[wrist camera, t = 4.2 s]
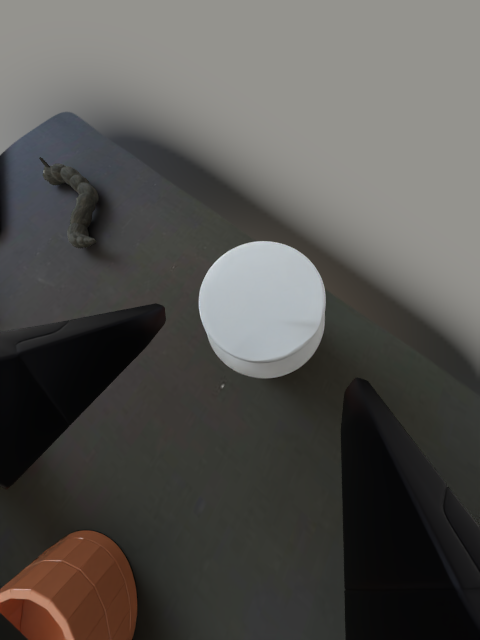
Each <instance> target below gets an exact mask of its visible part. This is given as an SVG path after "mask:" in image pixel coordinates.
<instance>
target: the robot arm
mask: <svg viewBox="0 0 480 640" xmlns="http://www.w3.org/2000/svg"><path fill="white" fill-rule="evenodd" d="M165 321H166V317H165V308H164V306H162V305H159V304H151V305H146V306H140V307H135V308H130V309H125V310H120V311H115V312H109V313H104V314H99V315H94V316H89V317H84V318H78V319H73V320H70V321H69V320H68V321H63V322H58V323H52V324H47V325H41V326H35V327H28V328H22V329H15V330H8V331H2V332H0V486H1V487H3V488H5V489H8V488H9V487H10V486H11V485H12V484H14V483H15V482H16V481H17V480H18V478H19V477H20V476H21V475H22V474H23V473H24V472H25V471H26V470H27V469H28V468H29V467H30V466H31V465H32V464H33V463H34V462H35V461H36V460H37V459H38V458H39V457H40V456H41V455H42V454H43V453H44V452H45V451H46V450H47V449H48V448H49V447H50V446H51V445H52V443H53V442H54V441H55V440H56V439H57V438H58V437H59V436H60V435H61V434H62V433H63V432H64V431H65V430H66V429H67V428H68V427H69V425H71V424H72V423H73V422H74V421H75V420H76V419H77V418H78V417H79V416H80V415H81V413H82V412H83V411H84V410H85V409H86V408H87V407H88V406H89V405H90V404H91V403H92V402H93V401H94V400H95V399H96V398H97V397H98V396H99V395H100V394H101V393H102V392H103V391H104V390H105V389H106V388H107V387H108V386H109V385H110V384H111V383H112V382H113V381H114V380H115V379H116V378H117V376H118V375H119V374H120V373H121V372H122V371H123V370H124V369H125V368H126V367H127V366H128V365H129V364H130V363H131V362H132V361H133V360H134V359H135V358H136V357H137V356H138V355H139V354H140V353H141V352H142V351H143V350H144V349H145V348H146V346H147V345H148V344H149V343H150V342H151V340H152V339H153V338H154V337H155V335H156V334H157V333H158V331H159V330H160V329H161V328H162V326H163V325H164V324H165ZM341 460H342V500H343V541H344V581H345V629H346V640H480V527H479V525H478V524H477V523H476V522H475V520H474V519H473V518H472V516H471V515H470V514H469V513H468V511H467V510H466V509H465V507H464V506H463V505H462V504H461V502H460V501H459V500H458V498H457V497H456V496H455V494H454V493H453V492H452V491H451V489H450V488H449V487H447V484H446V483H445V482H444V480H443V479H442V478H441V476H440V475H439V474H438V472H437V471H436V470H435V468H434V467H433V466H432V465H431V463H430V462H429V461H428V459H427V458H426V457H425V455H424V454H423V453H422V451H421V450H420V449H419V447H418V446H417V445H416V444H415V442H414V441H413V440H412V438H411V437H410V436H409V434H408V433H407V432H406V430H405V429H404V428H403V427H402V425H401V424H400V423H399V421H398V420H397V419H396V417H395V416H394V415H393V413H392V412H391V411H390V409H389V408H388V407H387V406H386V404H385V403H384V402H383V400H382V399H381V398H380V396H379V395H378V394H377V392H376V391H375V390H374V389H373V387H372V386H371V385H370V383H369V382H368V381H366V380H363V379H361V378H355V379H354V380H353V381H352V382H351V384H350V385H349V386H348V388H347V389H346V391H345V394H344V403H343V413H342V423H341ZM0 640H28V639H27V638H26V637H25V636H24V635H23V634H22V633H21V632H20V631H19V630H18V629H17V628H16V627H15V626H14V625H13V624H12V623H11V622H10V621H8V620H7V619H6V618H5V617H4V616H3V615H2V614H1V613H0Z"/></svg>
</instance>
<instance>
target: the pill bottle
mask: <svg viewBox="0 0 480 640" xmlns="http://www.w3.org/2000/svg"><path fill="white" fill-rule="evenodd" d="M325 306H326V295H325V288H324V284H323V281H322V279H321V276H320V274H319V272H318V271H317V269H316V268H315V266H314V265H313V264H312V263H311V261H310V260H309V259H308V258H306V257H305V256H304V255H303V254H302V253H300V252H299V251H297V250H296V249H294V248H292V247H289V246H287V245H284V244H281V243H276V242H269V241H259V242H251V243H247V244H243V245H240V246H238V247H236V248H234V249H232V250H230V251H228V252H227V253H225V254H224V255H222V256H221V257H220V258H219V259H218V260H217V261H216V262H215V263H214V264H213V265H212V266H211V268H210V269H209V271H208V272H207V274H206V276H205V278H204V280H203V283H202V286H201V289H200V294H199V312H200V317H201V320H202V324H203V326H204V328H205V330H206V332H207V336H208V339H209V342H210V344H211V347H212V348H213V350H214V352H215V353H216V354H217V356H218V357H219V358H220V359H221V360H222V362H224V363H225V364H226V365H227V366H228V367H230V368H231V369H233V370H234V371H236V372H239V373H241V374H243V375H246V376H250V377H255V378H275V377H280V376H283V375H286V374H289V373H291V372H293V371H295V370H297V369H298V368H300V367H301V366H302V365H304V364H305V363H306V362H307V361H308V360H309V359H310V358H311V357H312V355H313V354H314V352H315V351H316V349H317V348H318V346H319V343H320V341H321V339H322V335H323V332H324V324H325V314H324V313H325Z"/></svg>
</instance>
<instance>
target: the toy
mask: <svg viewBox="0 0 480 640" xmlns="http://www.w3.org/2000/svg"><path fill="white" fill-rule="evenodd" d="M39 159H40V160H41V161H42V163H43V164H44V165H45V167H44V171H43V172H44V173H43V177H44V179H45V180H47V181H49V182H50V184H52V185H61V184H63V183H65V184H66V183H67V184H68V185H70V186H72V188H73V189H74V190H75V191H76V192H78V194H79V197H78V198H77V204H76V207H75V208H74V210H73V211H72V214H71V220H70V226H69V228H68V231H67V235H68V240H69V242H70V243H71V244H72V245H73V246H74V247H77V248H83V247H85V248H86V247H89V246H90V245H92V244H95V243H96V240H95V239H94V238H90V237H88V235H89V234H88V229H87V228H88V226H89V225H90V223H91V219H92V212H93V211H94V209H95V204H97V202H98V200H99V198H98V193H97V191H96V190H95V188H94V187H92V186H91V185H90V183H89V181H88V180H87V179H86V178H84V177H83V176H81V174H80V173H79V172H78V171H76V170H75V169H73V168H72V167H66V166H65V165H62V164H54V165H53V166H49V165H48V164H47V163H46V162H45V161H44V160H43V158H41V157H40V158H39Z"/></svg>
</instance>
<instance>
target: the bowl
mask: <svg viewBox="0 0 480 640" xmlns="http://www.w3.org/2000/svg"><path fill="white" fill-rule="evenodd" d="M0 613H1V614H2V615H3V616H4V617H5V618H6V619H7V620H8V621H10V622H11V623H12V624H13V625H14V626H15V627H16V628H17V629H18V630H19V631H20V632H21V633H22V634H23V635H24V636H25V637H26V638H27V639H28V640H132V639H133V635H134V631H135V626H136V619H137V592H136V585H135V580H134V577H133V573H132V570H131V568H130V565H129V563H128V561H127V559H126V557H125V555H124V554H123V552H122V551H121V549H120V548H119V547H118V546H117V545H116V543H115V542H113V541H112V540H111V539H110V538H108V537H107V536H105V535H103V534H101V533H99V532H95V531H90V530H83V531H77V532H74V533H71V534H69V535H67V536H65V537H63V538H62V539H60V540H59V541H58V542H56V543H55V544H54V545H53V546H51V547H50V548H49V549H47V550H46V551H45V552H44V553H43V554H41V555H40V556H39V557H38V558H37V559H36V560H34V561H33V562H32V563H31V564H30V565H28V566H27V567H26V568H25V569H24V570H22V571H21V572H20V573H19V574H18V575H16V576H15V577H14V578H13V579H12V580H10V581H9V582H8V583H7V584H6V585H4V586H3V587H2V588H1V589H0Z"/></svg>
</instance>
